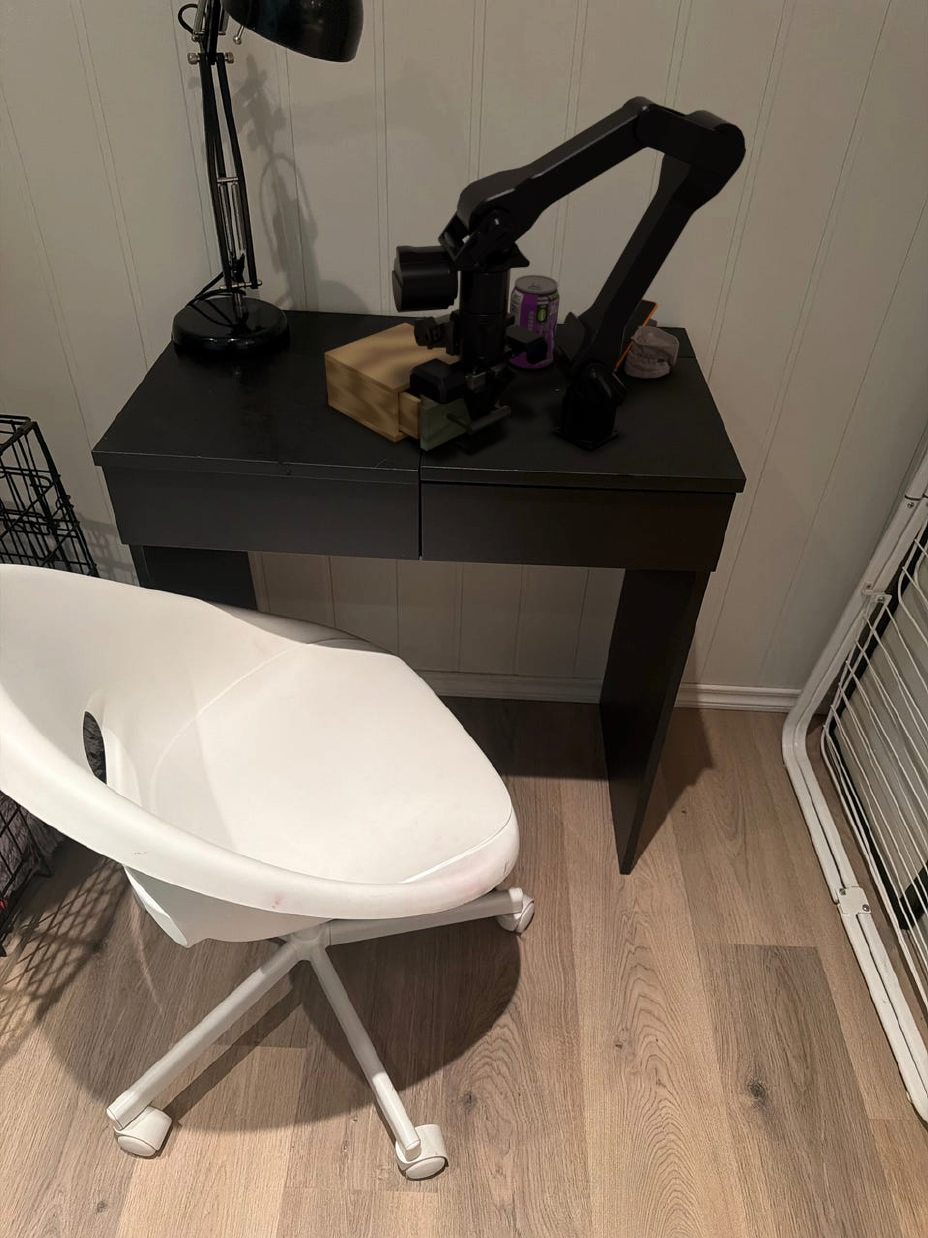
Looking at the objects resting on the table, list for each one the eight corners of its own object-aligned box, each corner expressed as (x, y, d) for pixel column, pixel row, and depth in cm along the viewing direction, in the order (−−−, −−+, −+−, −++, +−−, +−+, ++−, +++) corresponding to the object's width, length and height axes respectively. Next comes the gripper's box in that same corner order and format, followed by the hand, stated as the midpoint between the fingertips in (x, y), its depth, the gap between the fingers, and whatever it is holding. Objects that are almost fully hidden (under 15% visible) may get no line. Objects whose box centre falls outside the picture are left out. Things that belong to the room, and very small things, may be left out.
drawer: (525, 429, 112) (529, 389, 108) (454, 466, 104) (455, 425, 100) (434, 383, 120) (434, 344, 116) (362, 414, 113) (360, 374, 109)
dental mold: (657, 353, 120) (652, 385, 124) (688, 340, 124) (682, 372, 127) (615, 335, 125) (611, 367, 128) (646, 323, 128) (641, 354, 131)
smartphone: (659, 305, 131) (659, 301, 130) (611, 379, 125) (611, 375, 124) (614, 295, 134) (614, 291, 133) (566, 367, 128) (565, 363, 127)
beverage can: (549, 375, 125) (558, 294, 117) (502, 369, 126) (507, 289, 118) (555, 354, 131) (563, 276, 122) (510, 349, 131) (515, 271, 123)
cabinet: (472, 405, 118) (474, 354, 113) (394, 442, 110) (393, 388, 105) (406, 372, 125) (405, 322, 119) (328, 404, 117) (324, 352, 111)
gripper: (488, 265, 106) (483, 380, 117) (376, 304, 96) (380, 426, 107) (556, 292, 101) (543, 410, 111) (444, 336, 91) (441, 461, 101)
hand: (477, 425), depth 108 cm, fingers closed
